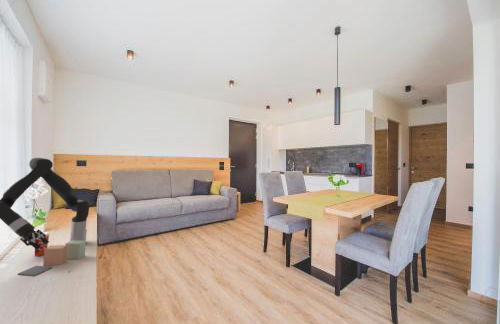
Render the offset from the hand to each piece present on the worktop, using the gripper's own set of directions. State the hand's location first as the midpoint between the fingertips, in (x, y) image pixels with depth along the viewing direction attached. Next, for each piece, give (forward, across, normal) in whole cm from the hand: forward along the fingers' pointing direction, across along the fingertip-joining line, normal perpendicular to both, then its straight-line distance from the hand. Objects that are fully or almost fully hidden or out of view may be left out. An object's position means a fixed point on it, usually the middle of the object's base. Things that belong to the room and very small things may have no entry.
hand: (43, 245), depth 136 cm
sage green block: (+18, +8, -2) cm, 19 cm away
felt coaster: (+9, -10, +6) cm, 15 cm away
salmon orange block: (+13, 0, +3) cm, 13 cm away
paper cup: (+2, +16, +14) cm, 21 cm away
